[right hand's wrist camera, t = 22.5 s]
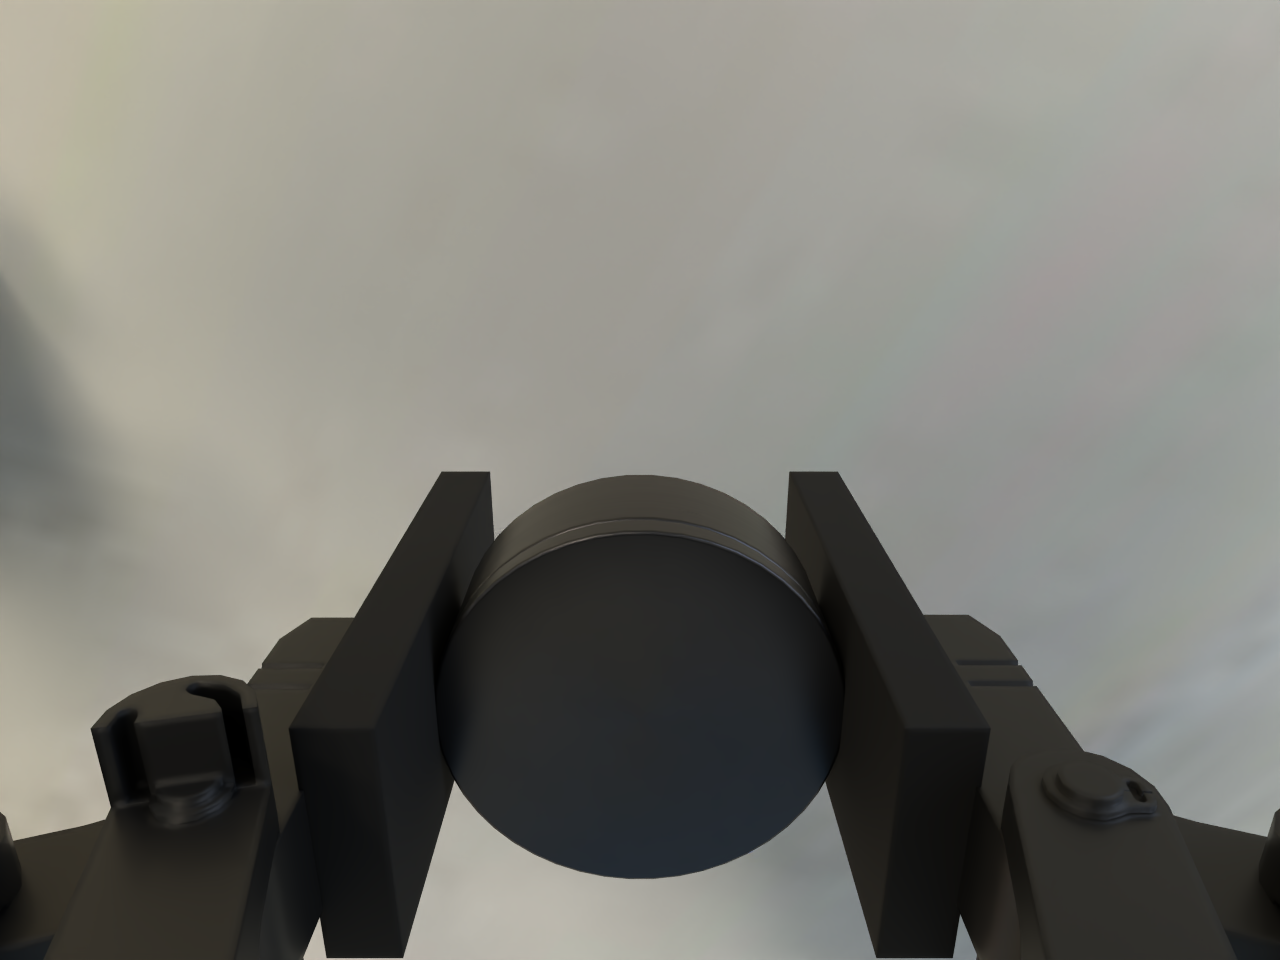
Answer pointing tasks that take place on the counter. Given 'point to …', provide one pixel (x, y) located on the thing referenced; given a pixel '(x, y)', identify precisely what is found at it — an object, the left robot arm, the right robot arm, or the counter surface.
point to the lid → (640, 681)
